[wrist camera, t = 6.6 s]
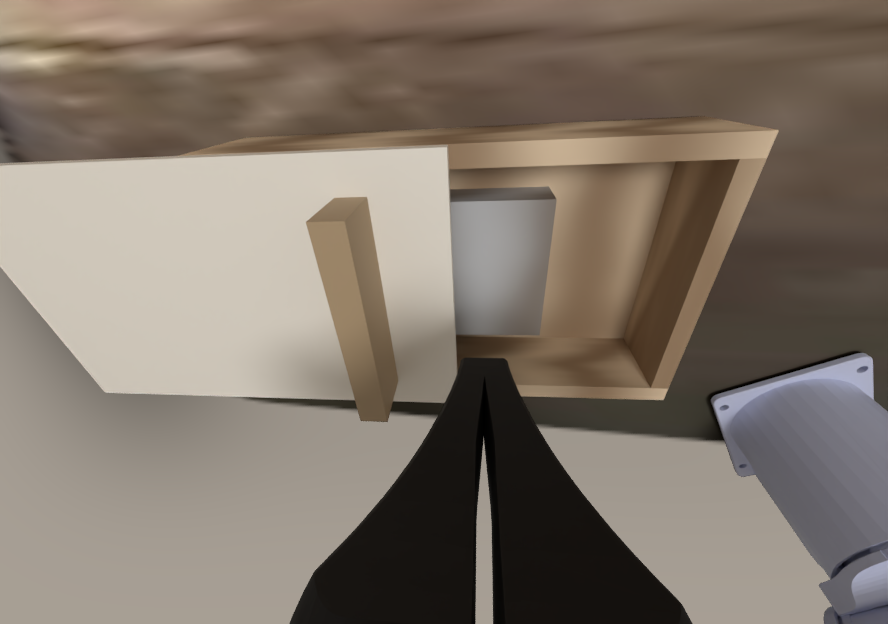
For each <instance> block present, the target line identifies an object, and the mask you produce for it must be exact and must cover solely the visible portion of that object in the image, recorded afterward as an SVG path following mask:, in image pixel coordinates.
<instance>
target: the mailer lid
mask: <svg viewBox="0 0 888 624" xmlns="http://www.w3.org/2000/svg"><path fill="white" fill-rule="evenodd" d="M0 267H1V268H2V269H3V270H4V272H5V273H6V274H7V275H8V277H9V278H10V279H11V280H12V281H13V283H14V284H15V285H16V286H17V287H18V289H19V290H20V291H21V292H22V293H23V295H24V296H25V297H26V298H27V299H28V300H29V302H30V303H31V304H32V305H33V307H34V308H35V309H36V310H37V311H38V312H39V314H40V315H41V316H42V317H43V319H44V320H45V321H46V322H47V323H48V324H49V326H50V327H51V328H52V329H53V331H54V332H55V333H56V334H57V335H58V337H59V338H60V339H61V340H62V341H63V343H64V344H65V345H66V346H67V347H68V348H69V350H70V351H71V352H72V353H73V355H74V356H75V357H76V358H77V359H78V361H79V362H80V363H81V364H82V365H83V366H84V368H85V369H86V370H87V371H88V372H89V374H90V375H91V376H92V377H93V379H94V380H95V381H96V382H97V383H98V384H99V386H100V387H101V388H102V389H103V391H104V392H106V393H134V394H135V393H136V394H168V395H201V396H234V397H267V398H300V399H334V400H355V402H356V406H357V409H358V413H359V416H360V420H361V421H377V422H379V421H381V422H388V418H389V414H390V410H391V407H392V403H393V401H400V402H433V403H445V401H446V399H447V397H448V395H449V393H450V391H451V388H452V386H453V383H454V381H455V378H456V376H457V353H456V328H455V303H454V279H453V254H452V229H451V205H450V180H449V155H448V145H427V146H403V147H380V148H356V149H332V150H308V151H285V152H261V153H237V154H214V155H190V156H166V157H142V158H119V159H95V160H71V161H48V162H24V163H0Z"/></svg>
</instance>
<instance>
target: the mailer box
mask: <svg viewBox="0 0 888 624" xmlns="http://www.w3.org/2000/svg"><path fill="white" fill-rule="evenodd" d="M778 131H779V130H775V129H770V128H765V127H759V126H754V125H748V124H743V123H738V122H732V121H727V120H721V119H716V118H711V117H705V116H696V117H675V118H654V119H632V120H611V121H590V122H568V123H547V124H525V125H504V126H483V127H461V128H440V129H419V130H397V131H376V132H354V133H333V134H312V135H290V136H269V137H248V138H242V139H239V140H235V141H231V142H227V143H224V144H220V145H216V146H213V147H209V148H205V149H201V150H198V151H194V152H190V153H186V154H183V155H179V156H190V155H214V154H237V153H261V152H285V151H308V150H332V149H356V148H380V147H403V146H427V145H448V155H449V180H450V205H451V229H452V254H453V279H454V303H455V328H456V353H457V373H458V369H459V366H460V362H461V360H462V359H463V358H505V359H506V360H507V361H508V365H509V368H510V371H511V374H512V377H513V379H514V382H515V384H516V386H517V389H518V391H519V393H520V395H521V396H534V397H570V398H606V399H642V400H664V397H665V395H666V393H667V390H668V388H669V386H670V383H671V381H672V379H673V376H674V374H675V372H676V369H677V367H678V365H679V362H680V360H681V358H682V355H683V353H684V351H685V348H686V346H687V344H688V341H689V339H690V337H691V334H692V332H693V330H694V327H695V325H696V323H697V320H698V318H699V316H700V313H701V311H702V309H703V306H704V304H705V302H706V299H707V297H708V295H709V292H710V290H711V288H712V285H713V283H714V281H715V278H716V276H717V273H718V271H719V269H720V266H721V264H722V262H723V259H724V257H725V255H726V252H727V250H728V248H729V245H730V243H731V241H732V238H733V236H734V234H735V231H736V229H737V227H738V224H739V222H740V220H741V217H742V215H743V213H744V210H745V208H746V206H747V203H748V201H749V199H750V196H751V194H752V192H753V189H754V187H755V185H756V182H757V180H758V178H759V175H760V173H761V171H762V168H763V166H764V164H765V161H766V159H767V157H768V154H769V152H770V150H771V147H772V145H773V143H774V140H775V138H776V136H777V133H778Z"/></svg>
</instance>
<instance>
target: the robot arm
mask: <svg viewBox="0 0 888 624" xmlns="http://www.w3.org/2000/svg"><path fill="white" fill-rule="evenodd" d="M711 403H712V406H713V409H714V412H715V415H716V418H717V421H718V423H719V426H720V429H721V432H722V435H723V438H724V441H725V443H726V446H727V449H728V452H729V455H730V458H731V460H732V463H733V466H734V469H735V471H736V473H737V474H738V475H739V476H742V477H745V476H750V475H756V476H757V477H758V479H759V480H760V482H761V483H762V485H763V486H764V488H765V489H766V490H767V492H768V494H769V495H770V497H771V498H772V499H773V501H774V502H775V504H776V505H777V507H778V508H779V510H780V511H781V512H782V514H783V515H784V517H785V518H786V520H787V521H788V523H789V524H790V526H791V527H792V529H793V530H794V531H795V533H796V534H797V536H798V537H799V539H800V540H801V542H802V543H803V544H804V546H805V547H806V549H807V550H808V552H809V553H810V555H811V556H812V557H813V558H814V560H815V561H816V562H817V563H818V564H819V565H820V566H821V567H822V568H823V569H824V570H825V572H826V573H827V575H828V576H829V577H830V580H828V581H826V582H823V583H820V584H819V587H820V588H821V590H822V591H823V593H824V594H825V596H826V597H827V599H828V600H829V602H830V603H831V605H832V607H829V608H828V609H827V610H826V611H825V613H824V624H888V411H886V410H885V409H884V408H883V407H881V406H880V405H879V404H878V403H877V402H875V401H874V389H873V359H872V358H871V357H870V356H869V355H867V354H865V353H857V354H853V355H850V356H846V357H843V358H839V359H836V360H833V361H829V362H826V363H822V364H819V365H815V366H812V367H809V368H805V369H802V370H798V371H795V372H791V373H788V374H785V375H781V376H778V377H774V378H771V379H767V380H764V381H761V382H757V383H754V384H750V385H747V386H743V387H740V388H737V389H733V390H730V391H726V392H723V393H720V394H717V395H714V396H713V397H712V398H711ZM483 437H484V443H485V453H486V464H487V474H488V484H489V494H490V504H491V519H492V563H493V564H492V565H493V624H692V622H691V620H690V618H689V617H688V615H687V613H686V611H685V609H684V607H683V606H682V604H681V603H680V602H679V601H678V600H677V599H676V597H674V596H673V594H672V593H671V592H670V591H669V590H668V589H667V588H666V587H665V586H664V585H663V584H662V583H661V582H660V581H659V580H658V579H657V578H656V577H655V576H654V575H653V574H652V573H651V572H650V571H649V570H648V569H647V567H646V566H645V565H644V564H643V563H642V562H641V561H640V560H639V559H638V558H637V557H636V556H635V555H634V554H633V552H632V551H631V550H630V549H629V548H628V547H627V546H626V545H625V544H624V542H623V541H622V540H621V539H620V538H619V537H618V536H617V535H616V533H615V532H614V531H613V530H612V529H611V528H610V526H609V525H608V524H607V523H606V522H605V521H604V519H603V518H602V517H601V516H600V515H599V513H598V512H597V511H596V510H595V508H594V507H593V506H592V505H591V503H590V502H589V501H588V500H587V498H586V497H585V496H584V495H583V494H582V492H581V491H580V490H579V488H578V487H577V486H576V485H575V483H574V482H573V480H572V479H571V478H570V476H569V475H568V474H567V472H566V471H565V470H564V468H563V466H562V465H561V464H560V462H559V461H558V459H557V458H556V456H555V455H554V453H553V452H552V450H551V449H550V447H549V445H548V444H547V442H546V441H545V439H544V437H543V436H542V434H541V433H540V431H539V429H538V427H537V426H536V424H535V422H534V420H533V419H532V417H531V415H530V413H529V411H528V409H527V407H526V405H525V403H524V401H523V399H522V397H521V395H520V393H519V391H518V389H517V386H516V384H515V382H514V379H513V377H512V374H511V371H510V368H509V365H508V361H507V360H506V359H505V358H463V359H462V360H461V362H460V366H459V369H458V373H457V376H456V378H455V381H454V383H453V386H452V388H451V391H450V393H449V395H448V397H447V399H446V401H445V403H444V405H443V407H442V409H441V411H440V413H439V415H438V417H437V419H436V420H435V422H434V424H433V426H432V428H431V429H430V431H429V433H428V435H427V436H426V438H425V439H424V441H423V443H422V445H421V446H420V447H419V449H418V451H417V452H416V453H415V455H414V456H413V458H412V459H411V461H410V462H409V464H408V465H407V466H406V468H405V469H404V470H403V472H402V473H401V475H400V476H399V477H398V479H397V480H396V481H395V483H394V484H393V485H392V487H391V488H390V489H389V490H388V492H387V493H386V494H385V495H384V497H383V498H382V499H381V500H380V501H379V503H378V504H377V505H376V506H375V507H374V508H373V509H372V511H371V512H370V513H369V514H368V515H367V517H366V518H365V519H364V520H363V521H362V522H361V523H360V525H359V526H358V527H357V528H356V529H355V530H354V531H353V532H352V533H351V535H349V536H348V538H347V539H346V540H345V541H344V542H343V543H342V544H341V545H340V546H339V547H338V548H337V549H336V550H335V551H334V552H333V553H332V554H331V555H330V556H329V557H328V558H327V559H326V560H325V561H324V562H323V563H322V564H321V565H320V566H319V567H318V568H317V569H316V570H315V572H314V573H313V575H312V577H311V579H310V581H309V583H308V585H307V587H306V588H305V590H304V592H303V594H302V596H301V598H300V601H299V603H298V605H297V607H296V610H295V612H294V614H293V616H292V619H291V621H290V624H475V602H476V600H475V599H476V518H477V517H476V516H477V502H478V492H479V480H480V469H481V459H482V448H483Z"/></svg>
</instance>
